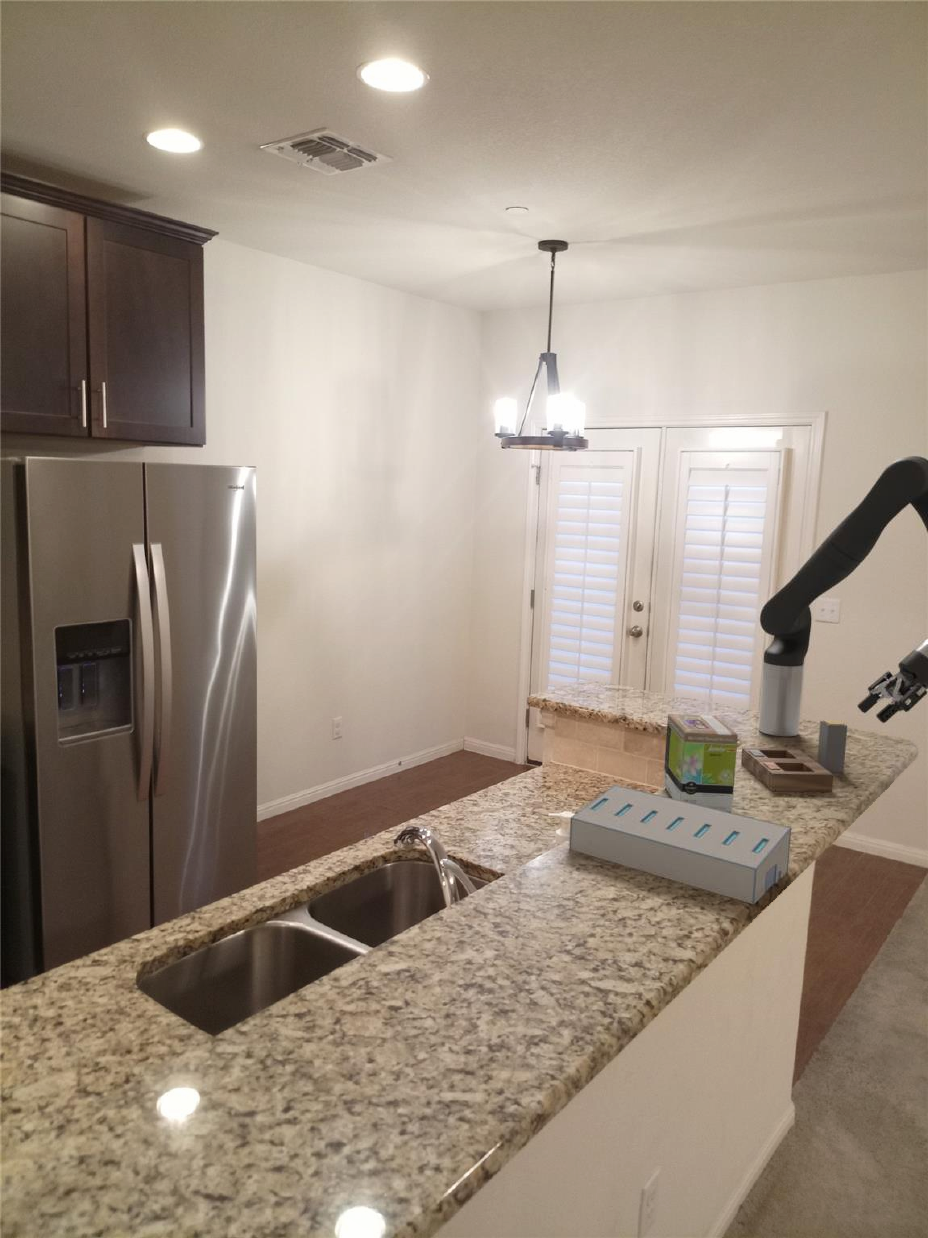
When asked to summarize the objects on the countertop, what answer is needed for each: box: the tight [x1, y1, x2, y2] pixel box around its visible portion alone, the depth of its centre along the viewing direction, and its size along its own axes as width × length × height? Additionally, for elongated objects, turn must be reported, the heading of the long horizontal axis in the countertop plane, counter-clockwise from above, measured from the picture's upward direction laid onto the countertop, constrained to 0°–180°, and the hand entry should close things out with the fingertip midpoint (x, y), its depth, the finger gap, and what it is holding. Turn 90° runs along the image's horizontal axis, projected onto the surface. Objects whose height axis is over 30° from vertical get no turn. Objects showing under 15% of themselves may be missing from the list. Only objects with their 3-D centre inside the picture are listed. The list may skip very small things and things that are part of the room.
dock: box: [740, 747, 834, 793], centre depth 183 cm, size 18×12×4 cm, turn 1°
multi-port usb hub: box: [568, 784, 792, 905], centre depth 139 cm, size 30×14×8 cm, turn 52°
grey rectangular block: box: [816, 719, 848, 773], centre depth 189 cm, size 4×4×10 cm
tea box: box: [663, 713, 739, 813], centre depth 168 cm, size 15×10×15 cm
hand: (869, 714), depth 188 cm, fingers open, 8 cm apart
